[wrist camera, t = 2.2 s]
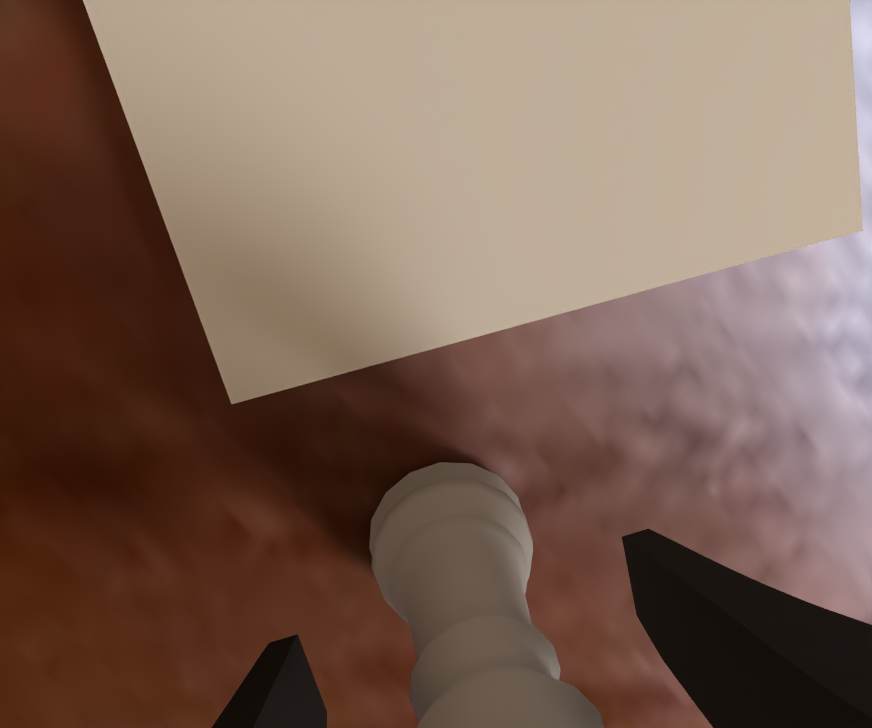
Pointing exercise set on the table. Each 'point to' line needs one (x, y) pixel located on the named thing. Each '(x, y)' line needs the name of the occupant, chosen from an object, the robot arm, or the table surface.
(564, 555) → the table surface
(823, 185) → the cream tile
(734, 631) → the robot arm
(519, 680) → the rook chess piece
